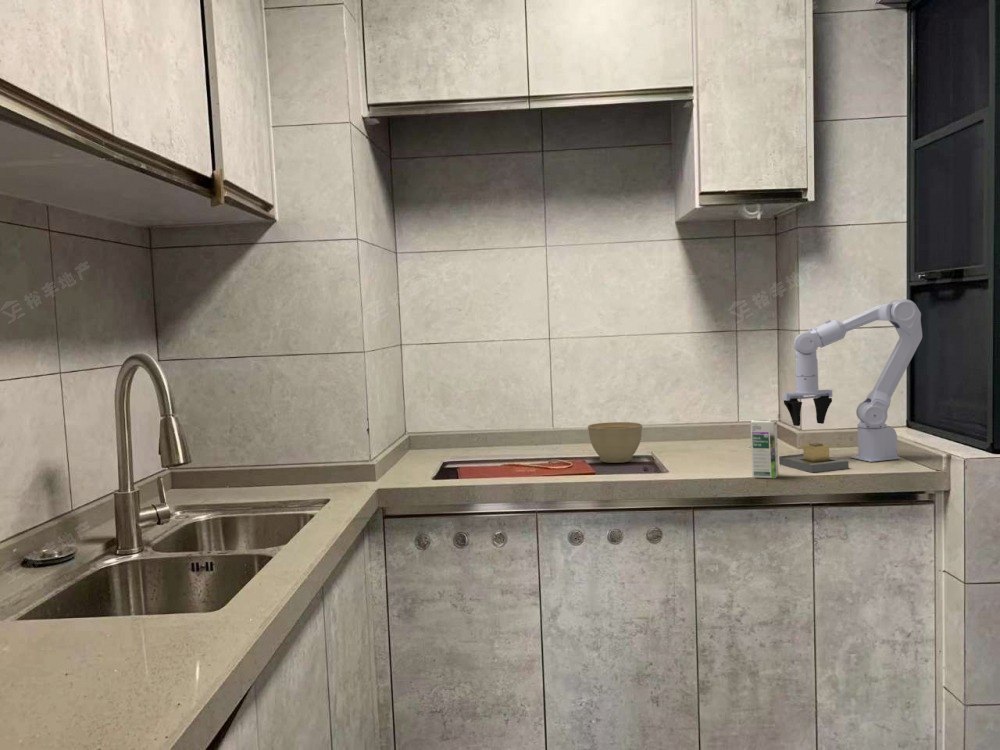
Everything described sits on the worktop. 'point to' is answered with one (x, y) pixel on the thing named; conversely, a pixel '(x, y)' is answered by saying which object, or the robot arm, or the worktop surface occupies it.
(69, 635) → the worktop surface
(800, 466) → the rail plate
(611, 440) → the planter bowl
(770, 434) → the syrup box
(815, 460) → the block
